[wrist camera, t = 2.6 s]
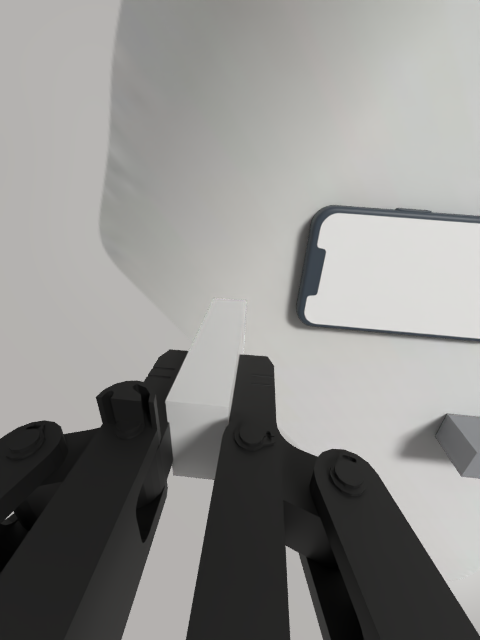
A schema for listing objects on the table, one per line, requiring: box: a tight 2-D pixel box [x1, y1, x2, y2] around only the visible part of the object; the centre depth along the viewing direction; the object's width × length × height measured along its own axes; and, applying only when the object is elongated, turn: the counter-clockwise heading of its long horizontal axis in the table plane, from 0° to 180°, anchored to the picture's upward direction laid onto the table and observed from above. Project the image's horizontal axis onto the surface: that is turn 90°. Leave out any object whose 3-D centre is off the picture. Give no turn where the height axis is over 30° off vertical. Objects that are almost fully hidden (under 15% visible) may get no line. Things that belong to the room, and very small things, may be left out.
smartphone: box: [296, 205, 480, 342], centre depth 19 cm, size 9×2×16 cm
